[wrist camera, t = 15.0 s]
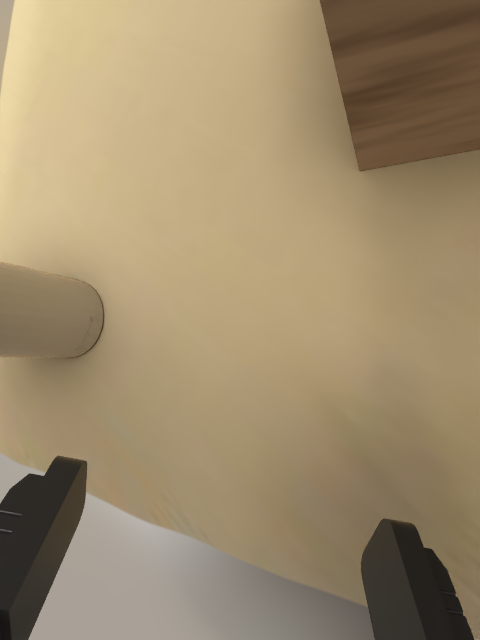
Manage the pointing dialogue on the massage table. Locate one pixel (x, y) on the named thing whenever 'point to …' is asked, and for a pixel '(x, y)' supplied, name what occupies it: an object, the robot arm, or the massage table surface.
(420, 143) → the plinth
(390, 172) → the massage table surface
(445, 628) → the robot arm
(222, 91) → the massage table surface
